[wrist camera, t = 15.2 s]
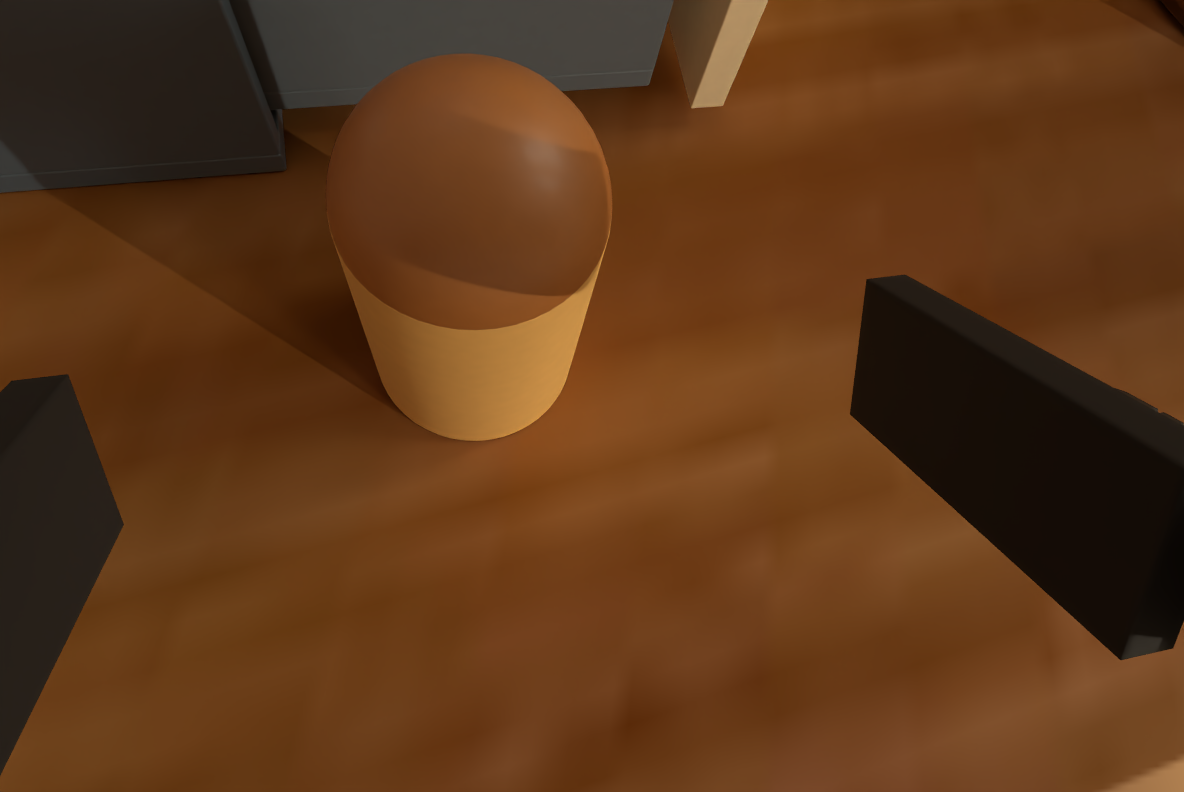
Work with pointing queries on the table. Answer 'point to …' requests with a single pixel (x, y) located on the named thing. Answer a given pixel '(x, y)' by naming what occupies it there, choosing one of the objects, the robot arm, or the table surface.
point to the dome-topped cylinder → (469, 238)
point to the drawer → (491, 42)
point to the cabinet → (129, 94)
